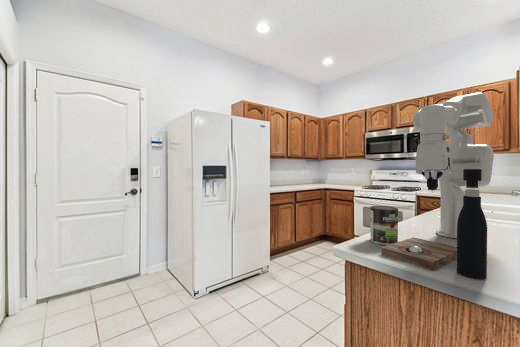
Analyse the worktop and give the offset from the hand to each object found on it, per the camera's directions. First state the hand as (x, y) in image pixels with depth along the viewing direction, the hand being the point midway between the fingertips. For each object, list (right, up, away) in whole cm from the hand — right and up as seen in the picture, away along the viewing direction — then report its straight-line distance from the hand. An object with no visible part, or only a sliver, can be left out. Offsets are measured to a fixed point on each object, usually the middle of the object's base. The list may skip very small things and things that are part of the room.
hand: (432, 189), depth 88 cm
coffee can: (-12, -22, +11) cm, 28 cm away
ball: (-11, -21, -7) cm, 24 cm away
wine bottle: (-3, -23, -20) cm, 31 cm away
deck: (-7, -23, -5) cm, 24 cm away
